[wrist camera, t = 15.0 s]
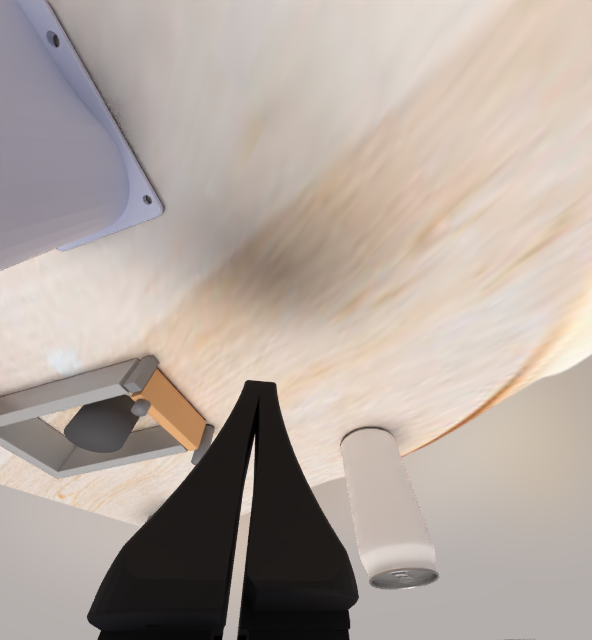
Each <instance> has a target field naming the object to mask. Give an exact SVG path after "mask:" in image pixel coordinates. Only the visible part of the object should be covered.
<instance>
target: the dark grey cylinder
mask: <svg viewBox="0 0 592 640" xmlns="http://www.w3.org/2000/svg"><path fill="white" fill-rule="evenodd" d="M134 404H135V401H134V400H133V399H132V398H130V397H129V396H127V395H120V396H116V397H112V398H108V399H104V400H101V401H97V402H93V403H89V404H85V405H83V407H82V408H81V409H80V410H79V411H78V413H77V414H76V415H75V416H74V417H73V419H72V420H71V421H70V422H69V424H68V425H67V426H66V427H65V429H64V434H65V436H66V438H67V439H68V440H69V441H70V442H71V443H73V444H74V445H76V446H78V447H80V448H82V449H85V450H88V451H92V452H97V453H111V452H115V451H118V450H120V449H121V448H122V447H123V445H124V443H125V441H126V440H127V438H128V436H129V435H130V433H131V431H132V429H133V428H134V426H135V424H136V422H137V421H138V419H139V417H140V416H137V415H134V414H133V413H132V412H131V408H132V407H133V405H134Z"/></svg>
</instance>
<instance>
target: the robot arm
mask: <svg viewBox="0 0 592 640" xmlns="http://www.w3.org/2000/svg"><path fill="white" fill-rule="evenodd" d="M54 35H57V36H58V39H59V41H60V45H59V46H58V47H56V46H55V44H54V41H53V37H54ZM146 195H148V196H149V197H150V198H151V199H152V203H151V204H150V203H148V202H147V200H146ZM162 213H163V206H162V204H161V202H160V201H159V199H158V197H157V195H156V194H155V192H154V190H153V188H152V186H151V185H150V183H149V181H148V179H147V178H146V176H145V174H144V172H143V170H142V169H141V167H140V165H139V163H138V162H137V160H136V158H135V156H134V154H133V153H132V151H131V149H130V147H129V146H128V144H127V142H126V140H125V139H124V137H123V135H122V133H121V131H120V130H119V128H118V126H117V124H116V123H115V121H114V119H113V117H112V115H111V114H110V112H109V110H108V108H107V107H106V105H105V103H104V101H103V99H102V98H101V96H100V94H99V92H98V91H97V89H96V87H95V85H94V84H93V82H92V80H91V78H90V76H89V75H88V73H87V71H86V69H85V68H84V66H83V64H82V62H81V60H80V59H79V57H78V55H77V53H76V52H75V50H74V48H73V46H72V44H71V43H70V41H69V39H68V37H67V36H66V34H65V32H64V30H63V28H62V27H61V25H60V23H59V21H58V20H57V18H56V16H55V14H54V13H53V11H52V9H51V7H50V6H49V4H48V3H47V1H46V0H0V271H1V270H4V269H6V268H9V267H11V266H14V265H16V264H19V263H21V262H23V261H26V260H28V259H31V258H33V257H36V256H38V255H41V254H43V253H46V252H48V251H51V250H53V249H57V250H59V251H67V250H70V249H72V248H75V247H78V246H80V245H83V244H86V243H88V242H91V241H94V240H97V239H99V238H102V237H105V236H107V235H110V234H113V233H115V232H118V231H121V230H123V229H126V228H129V227H131V226H134V225H137V224H139V223H142V222H145V221H147V220H150V219H153V218H155V217H158V216H160V215H161V214H162ZM254 436H255V459H254V487H253V499H252V508H251V517H250V526H249V536H248V546H247V554H246V563H245V572H244V582H243V590H242V599H241V608H240V618H239V627H238V636H237V640H349V632H348V629H350V618H349V611H348V609H350V608H351V607H352V606H353V605H355V603H356V602H357V600H358V598H359V596H358V589H357V584H356V580H355V576H354V572H353V569H352V566H351V563H350V560H349V557H348V554H347V551H346V550H345V548H344V546H343V545H342V543H341V542H340V540H339V538H338V537H337V535H336V533H335V532H334V530H333V529H332V527H331V525H330V524H329V522H328V520H327V519H326V517H325V515H324V513H323V511H322V510H321V508H320V506H319V504H318V502H317V500H316V498H315V496H314V494H313V493H312V491H311V489H310V487H309V485H308V483H307V481H306V479H305V476H304V474H303V472H302V470H301V468H300V465H299V463H298V461H297V458H296V456H295V453H294V451H293V448H292V446H291V443H290V440H289V437H288V434H287V431H286V428H285V425H284V421H283V418H282V414H281V410H280V406H279V402H278V396H277V387H276V384H275V383H274V382H263V381H252V380H247V381H246V382H245V384H244V387H243V390H242V392H241V395H240V397H239V399H238V401H237V403H236V405H235V407H234V409H233V410H232V412H231V414H230V416H229V418H228V419H227V421H226V423H225V424H224V426H223V427H222V429H221V431H220V432H219V434H218V435H217V437H216V438H215V440H214V441H213V443H212V444H211V446H210V447H209V449H208V450H207V451H206V453H205V454H204V455H203V457H202V458H201V460H200V461H199V462H198V463H197V465H196V466H195V467H194V469H193V470H192V471H191V472H190V474H189V475H188V476H187V477H186V479H185V480H184V481H183V482H182V483H181V485H180V486H179V487H178V488H177V489H176V490H175V491H174V493H173V494H172V495H171V496H170V497H169V498H168V499H167V500H166V502H165V503H164V504H163V505H162V506H161V507H160V508H159V510H158V511H157V512H156V513H155V514H154V515H153V516H152V517H151V518H150V519H149V520H148V521H147V522H146V523H145V524H144V525H143V526H142V527H141V528H140V529H139V530H138V531H137V532H136V533H135V534H134V536H133V537H132V538H131V539H130V540H129V541H128V542H127V543H126V544H125V545H124V546H123V548H122V549H121V551H120V552H119V554H118V555H117V557H116V558H115V560H114V561H113V563H112V565H111V567H110V568H109V570H108V572H107V574H106V576H105V578H104V579H103V581H102V583H101V585H100V587H99V590H98V592H97V594H96V596H95V599H94V602H93V604H92V606H91V608H90V611H89V613H88V615H87V619H88V621H89V623H90V624H92V625H93V626H95V627H96V628H98V629H99V630H101V632H100V635H99V637H98V640H222V637H223V630H224V627H225V625H226V617H227V610H228V603H229V595H230V587H231V579H232V572H233V564H234V556H235V548H236V541H237V533H238V525H239V518H240V510H241V503H242V495H243V489H244V484H245V479H246V474H247V469H248V464H249V460H250V455H251V450H252V446H253V441H254ZM507 640H535V639H507Z"/></svg>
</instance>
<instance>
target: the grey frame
mask: <svg viewBox="0 0 592 640" xmlns="http://www.w3.org/2000/svg"><path fill="white" fill-rule="evenodd" d="M158 364H159V362H158V361H157V360H156V359H155V357H154V356H153V355H151V356H147V357H144V358H142V360H141V361H139V360H138V358H137V359H133V360H130V361H126V362H123V363H119V364H116V365H112V366H108V367H105V368H101V369H98V370H94V371H91V372H87V373H84V374H80V375H77V376H73V377H70V378H66V379H62V380H59V381H55V382H52V383H48V384H45V385H41V386H38V387H34V388H31V389H27V390H24V391H20V392H17V393H13V394H9V395H6V396H2V397H0V446H1V447H3V448H5V449H7V450H8V451H10V452H12V453H13V454H15V455H17V456H19V457H20V458H22V459H24V460H26V461H27V462H29V463H31V464H32V465H34V466H36V467H38V468H39V469H41V470H43V471H45V472H46V473H48V474H50V475H51V476H53V477H55V478H57V479H60V478H65V477H70V476H74V475H79V474H84V473H88V472H93V471H98V470H103V469H107V468H112V467H117V466H121V465H126V464H131V463H136V462H140V461H145V460H150V459H154V458H159V457H164V456H169V455H173V454H178V453H183V452H187V451H188V450H187V449H186V448H185V447H184V446H183V445H182V444H181V443H180V442H179V441H178V440H177V439H175V438H174V437H173V436H172V435H171V434H170V433H169V432H168V431H167V430H166V429H164V428H163V427H162V426H157V427H153V428H149V429H145V430H140V431H136V432H132V433H130V435H129V436H128V438H127V440H126V441H125V443H124V445H123V447H122V448H121V449H120V450H118V451H115V452H111V453H97V452H92V451H88V450H85V449H82V448H80V447H78V446H76V445H74V444H73V443H71V442H70V441H69V440H68V439H67V438H66V437H65V436H63V435H62V434H61V433H59V432H58V431H56V430H55V429H53V428H52V427H51V426H49V425H48V424H46V423H45V422H44V421H42V420H41V419H39V418H38V417H39V416H43V415H47V414H51V413H55V412H58V411H62V410H66V409H70V408H74V407H78V406H81V405H85V404H89V403H93V402H97V401H101V400H104V399H108V398H112V397H116V396H120V395H124V394H127V393H129V392H131V393H134V392H137V391H141V390H143V388H144V386H145V385H146V383H147V382H148V380H149V378H150V377H151V375H152V374H153V372H154V370H155V369H156V367H157V366H158Z"/></svg>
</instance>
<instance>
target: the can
mask: <svg viewBox="0 0 592 640" xmlns="http://www.w3.org/2000/svg"><path fill="white" fill-rule="evenodd" d="M341 453H342V459H343V465H344V471H345V477H346V482H347V488H348V494H349V499H350V505H351V511H352V517H353V521H354V528H355V533H356V539H357V544H358V550H359V555H360V558H361V561H362V564H363V566H364V567H365V569H366V571H367V573H368V575H369V578H370V580H369V582H370V585H371V586H373V587H376V588H380V589H408V588H414V587H420V586H424V585H428V584H430V583H433V582H435V581H436V580H437V579H438V578H439V574H438V573H437V572H436V568H435V550H434V546H433V543H432V540H431V537H430V534H429V532H428V529H427V526H426V523H425V521H424V518H423V515H422V512H421V510H420V507H419V504H418V501H417V499H416V496H415V493H414V491H413V488H412V485H411V482H410V480H409V477H408V474H407V472H406V469H405V466H404V464H403V461H402V458H401V456H400V453H399V450H398V448H397V445H396V442H395V440H394V438H393V436H392V435H391V434H390V433H388V432H387V431H385V430H383V429H380V428H372V427H370V428H362V429H358V430H356V431H353V432H351V433H350V434H348V435H347V436H346V437H345V438H344V440H343V442H342V444H341Z"/></svg>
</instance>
